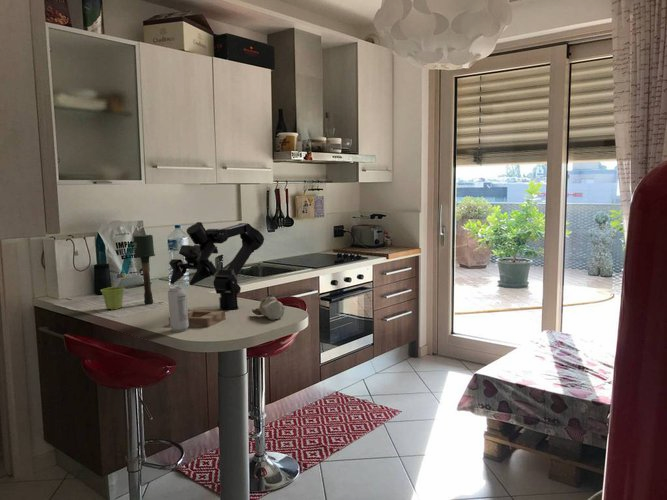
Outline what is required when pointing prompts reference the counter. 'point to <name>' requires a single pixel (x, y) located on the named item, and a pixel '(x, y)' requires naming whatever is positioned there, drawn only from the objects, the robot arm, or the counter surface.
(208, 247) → the robot arm
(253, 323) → the counter surface
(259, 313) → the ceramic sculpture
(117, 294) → the plant pot
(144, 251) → the potato masher grenade
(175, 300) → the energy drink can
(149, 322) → the counter surface
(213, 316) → the hole board
